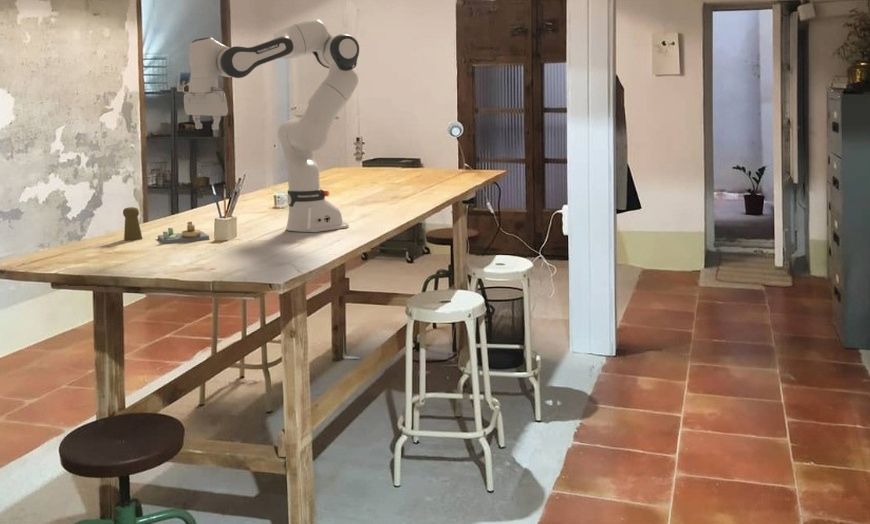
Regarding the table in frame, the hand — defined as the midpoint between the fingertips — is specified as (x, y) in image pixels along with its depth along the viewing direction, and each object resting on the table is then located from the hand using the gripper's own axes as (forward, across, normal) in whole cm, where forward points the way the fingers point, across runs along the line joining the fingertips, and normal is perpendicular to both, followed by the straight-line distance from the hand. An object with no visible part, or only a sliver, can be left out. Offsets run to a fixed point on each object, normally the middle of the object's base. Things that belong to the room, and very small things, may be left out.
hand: (207, 129), depth 301 cm
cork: (+38, +20, +19) cm, 46 cm away
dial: (+36, +3, +7) cm, 36 cm away
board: (+37, +6, +8) cm, 38 cm away
